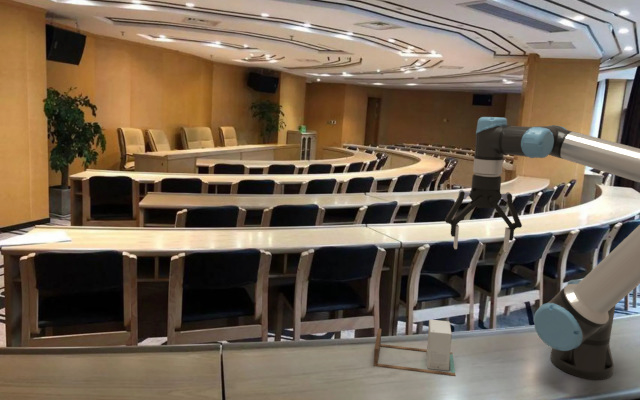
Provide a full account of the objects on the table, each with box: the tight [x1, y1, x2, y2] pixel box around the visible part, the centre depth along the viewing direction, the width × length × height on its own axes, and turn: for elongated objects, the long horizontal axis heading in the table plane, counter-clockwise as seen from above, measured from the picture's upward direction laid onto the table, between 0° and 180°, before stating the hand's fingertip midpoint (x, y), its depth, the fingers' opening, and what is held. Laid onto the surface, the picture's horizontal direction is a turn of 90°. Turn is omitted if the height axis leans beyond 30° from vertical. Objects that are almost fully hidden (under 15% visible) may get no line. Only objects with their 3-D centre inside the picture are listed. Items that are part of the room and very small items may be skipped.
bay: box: [373, 328, 456, 377], centre depth 136 cm, size 21×12×5 cm, turn 79°
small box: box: [426, 319, 453, 372], centre depth 134 cm, size 8×6×10 cm
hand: (480, 249), depth 141 cm, fingers open, 13 cm apart
